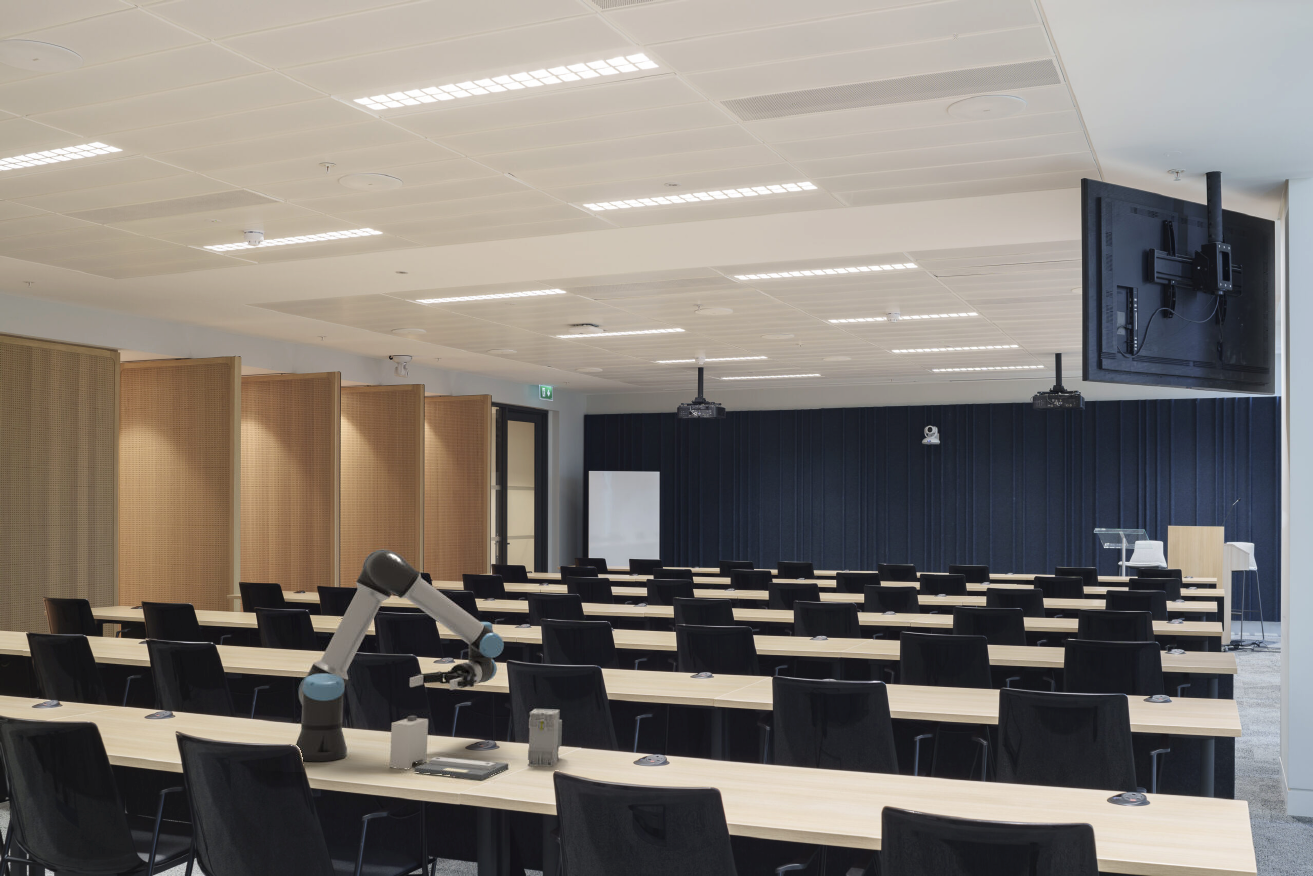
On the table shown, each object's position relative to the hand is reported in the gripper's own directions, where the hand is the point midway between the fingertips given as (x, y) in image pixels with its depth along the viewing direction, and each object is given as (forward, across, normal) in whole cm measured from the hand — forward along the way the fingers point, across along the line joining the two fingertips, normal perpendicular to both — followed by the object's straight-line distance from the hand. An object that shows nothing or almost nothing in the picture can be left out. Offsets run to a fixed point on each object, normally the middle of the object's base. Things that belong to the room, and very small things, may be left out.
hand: (430, 683), depth 327 cm
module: (+10, +1, -22) cm, 24 cm away
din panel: (+10, -17, -22) cm, 30 cm away
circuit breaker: (-12, -32, -22) cm, 41 cm away
